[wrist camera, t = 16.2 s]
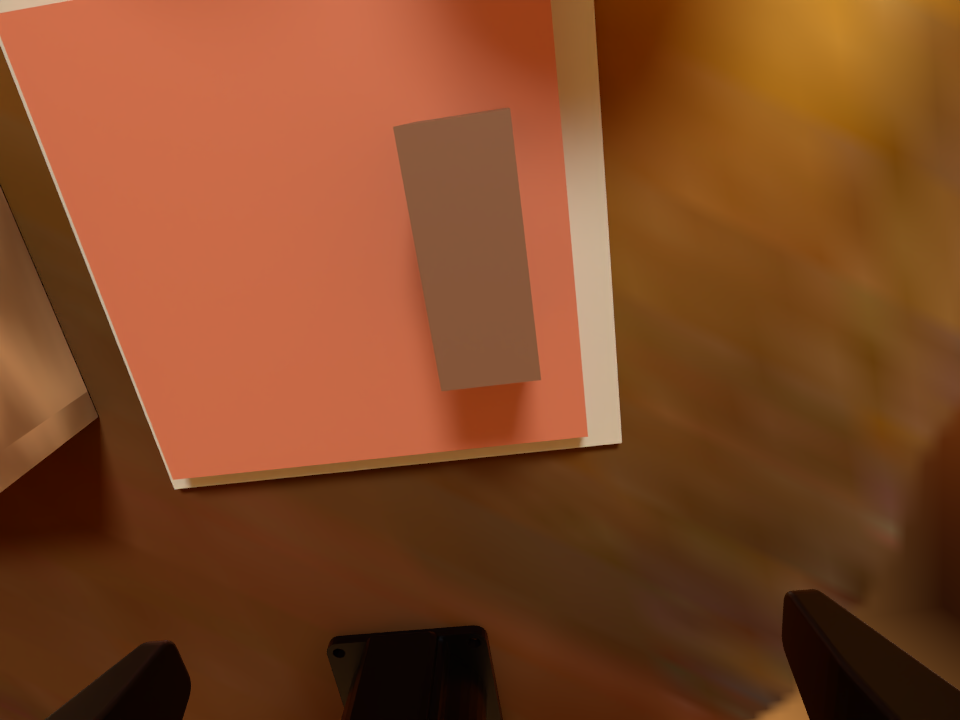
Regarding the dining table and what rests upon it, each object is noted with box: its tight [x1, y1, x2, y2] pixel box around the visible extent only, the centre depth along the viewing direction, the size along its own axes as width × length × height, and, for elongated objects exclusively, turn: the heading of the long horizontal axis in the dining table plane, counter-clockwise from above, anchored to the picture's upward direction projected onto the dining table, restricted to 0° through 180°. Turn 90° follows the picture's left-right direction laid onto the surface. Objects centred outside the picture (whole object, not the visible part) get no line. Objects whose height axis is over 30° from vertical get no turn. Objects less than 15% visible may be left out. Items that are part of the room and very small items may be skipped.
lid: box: [0, 0, 588, 480], centre depth 16 cm, size 14×14×5 cm
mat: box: [0, 0, 622, 489], centre depth 19 cm, size 16×16×1 cm
